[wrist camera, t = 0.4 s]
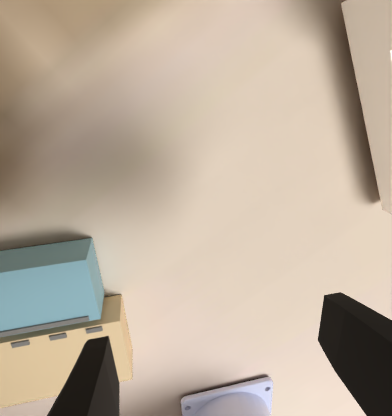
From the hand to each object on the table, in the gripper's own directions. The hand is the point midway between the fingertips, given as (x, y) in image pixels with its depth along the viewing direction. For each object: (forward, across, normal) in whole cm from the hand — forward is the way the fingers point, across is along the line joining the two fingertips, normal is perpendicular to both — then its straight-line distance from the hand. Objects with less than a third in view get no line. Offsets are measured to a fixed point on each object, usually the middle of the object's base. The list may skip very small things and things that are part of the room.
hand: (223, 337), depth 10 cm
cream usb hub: (+9, +10, +7) cm, 15 cm away
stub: (+9, +8, +2) cm, 13 cm away
